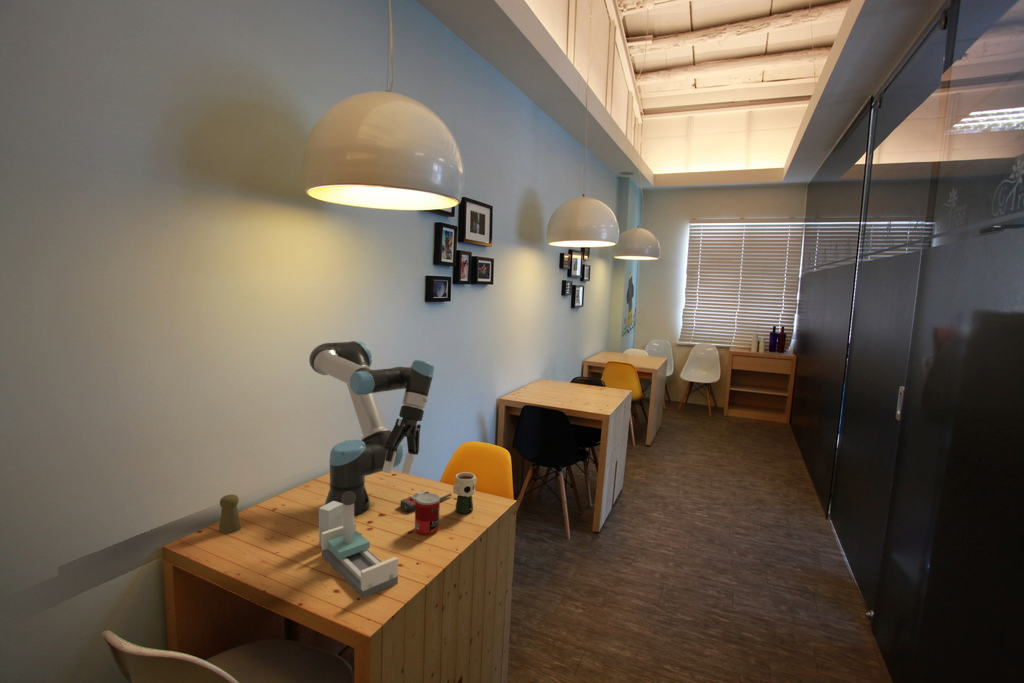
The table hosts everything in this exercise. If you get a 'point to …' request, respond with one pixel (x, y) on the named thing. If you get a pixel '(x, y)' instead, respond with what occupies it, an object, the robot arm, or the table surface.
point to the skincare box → (330, 517)
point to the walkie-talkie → (410, 501)
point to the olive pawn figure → (229, 515)
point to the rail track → (361, 567)
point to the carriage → (348, 532)
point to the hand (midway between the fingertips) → (396, 473)
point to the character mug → (464, 491)
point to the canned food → (427, 513)
